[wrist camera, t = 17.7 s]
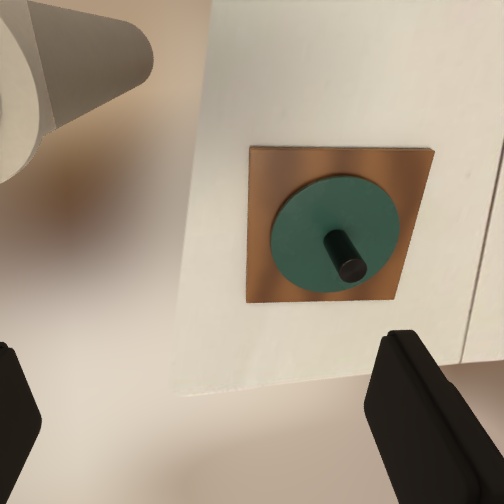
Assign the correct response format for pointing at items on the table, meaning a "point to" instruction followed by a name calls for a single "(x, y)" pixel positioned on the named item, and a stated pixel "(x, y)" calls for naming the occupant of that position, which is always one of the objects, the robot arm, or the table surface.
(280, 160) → the square wooden board
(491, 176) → the table surface
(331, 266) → the pot lid
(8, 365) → the robot arm
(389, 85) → the table surface
